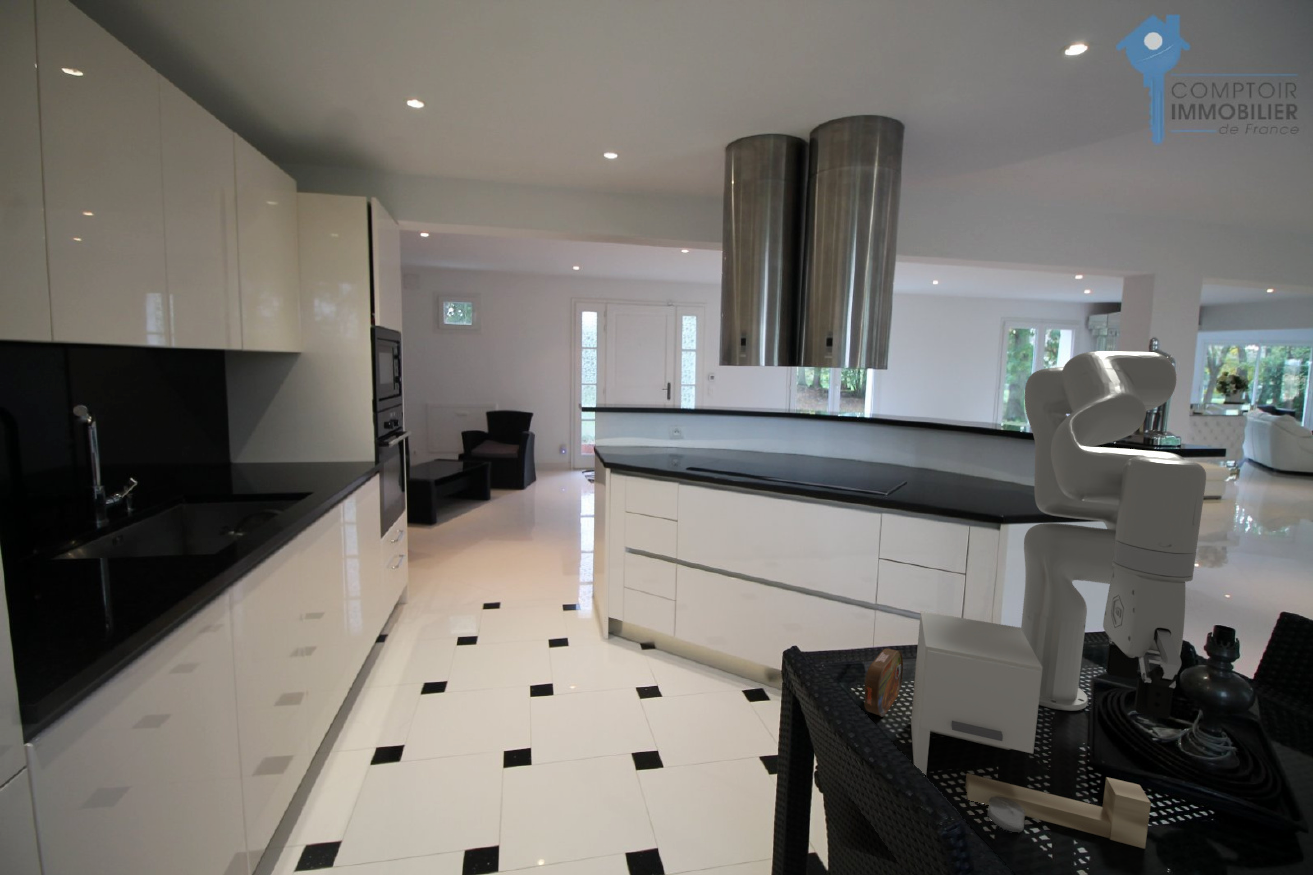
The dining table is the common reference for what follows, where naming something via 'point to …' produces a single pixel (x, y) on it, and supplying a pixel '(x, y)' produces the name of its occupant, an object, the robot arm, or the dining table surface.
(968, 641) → the cabinet
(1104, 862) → the dining table surface
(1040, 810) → the wooden l-shaped bar
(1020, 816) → the puck
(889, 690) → the tin
